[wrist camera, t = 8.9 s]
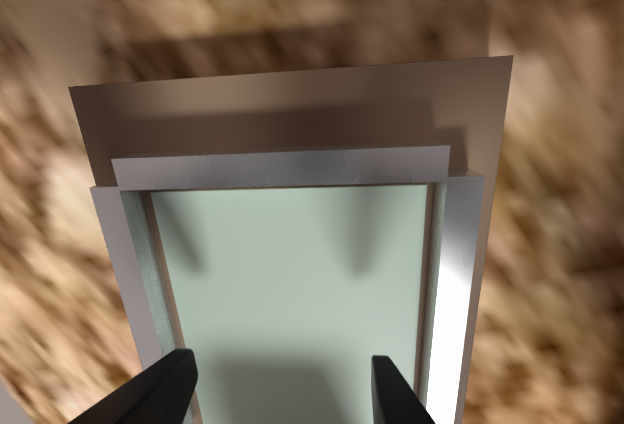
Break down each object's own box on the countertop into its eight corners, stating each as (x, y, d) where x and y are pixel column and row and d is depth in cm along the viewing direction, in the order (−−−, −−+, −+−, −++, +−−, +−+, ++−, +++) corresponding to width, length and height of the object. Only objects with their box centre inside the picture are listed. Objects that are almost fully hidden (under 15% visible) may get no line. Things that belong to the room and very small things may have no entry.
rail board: (489, 62, 8) (516, 54, 7) (433, 534, 14) (441, 573, 13) (102, 89, 9) (65, 86, 8) (209, 511, 16) (197, 546, 14)
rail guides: (471, 139, 7) (489, 143, 7) (439, 426, 11) (448, 458, 10) (110, 154, 9) (81, 160, 8) (177, 411, 12) (162, 437, 11)
